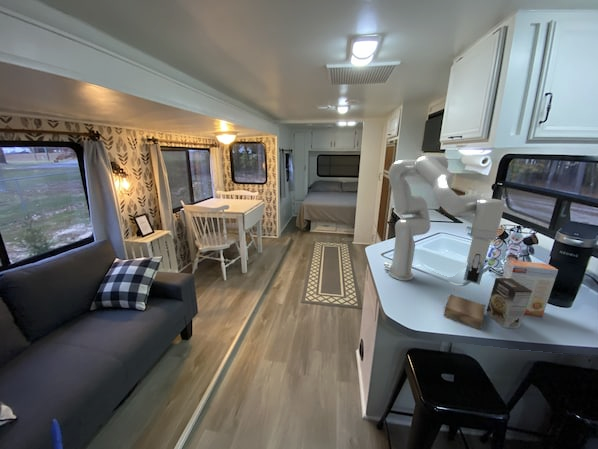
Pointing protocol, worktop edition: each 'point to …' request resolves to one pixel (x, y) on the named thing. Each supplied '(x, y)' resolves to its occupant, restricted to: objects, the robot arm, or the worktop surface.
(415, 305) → the worktop surface
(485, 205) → the robot arm
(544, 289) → the cracker box
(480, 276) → the blue block
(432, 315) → the worktop surface
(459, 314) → the walnut base
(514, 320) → the coffee box
